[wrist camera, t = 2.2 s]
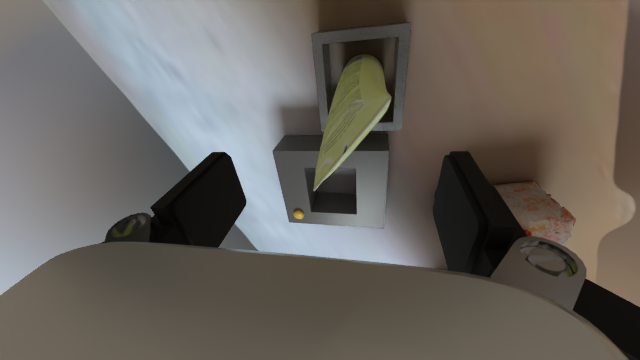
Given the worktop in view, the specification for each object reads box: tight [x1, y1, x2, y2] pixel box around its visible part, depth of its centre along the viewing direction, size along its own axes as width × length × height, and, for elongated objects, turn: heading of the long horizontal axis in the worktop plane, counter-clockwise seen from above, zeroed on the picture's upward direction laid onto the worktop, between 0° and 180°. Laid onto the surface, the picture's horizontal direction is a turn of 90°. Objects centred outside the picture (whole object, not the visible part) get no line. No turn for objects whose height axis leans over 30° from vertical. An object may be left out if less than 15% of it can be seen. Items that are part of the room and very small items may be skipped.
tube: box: [313, 54, 392, 191], centre depth 22 cm, size 6×5×20 cm
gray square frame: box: [311, 22, 411, 132], centre depth 28 cm, size 10×11×4 cm
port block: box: [273, 134, 389, 229], centre depth 36 cm, size 15×13×5 cm
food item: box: [434, 181, 576, 246], centre depth 32 cm, size 14×8×10 cm, turn 106°
